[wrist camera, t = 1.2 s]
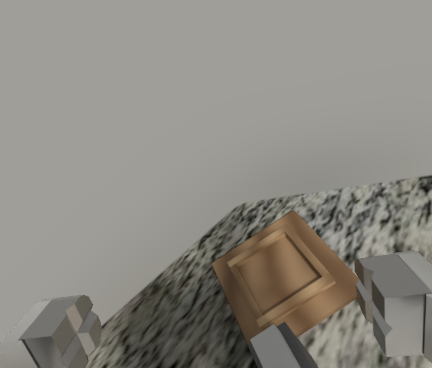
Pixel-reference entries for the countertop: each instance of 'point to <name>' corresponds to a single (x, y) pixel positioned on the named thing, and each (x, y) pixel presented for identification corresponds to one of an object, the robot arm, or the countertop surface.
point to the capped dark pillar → (279, 349)
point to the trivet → (284, 279)
